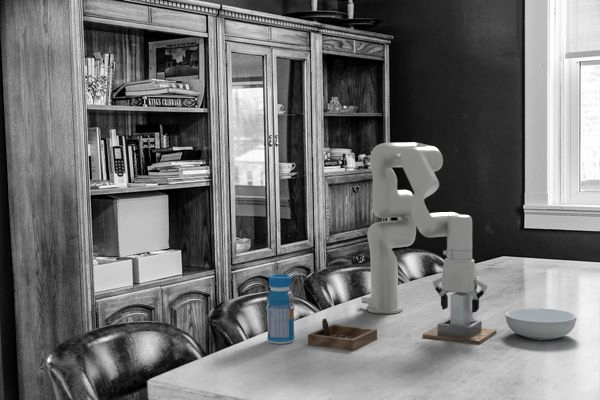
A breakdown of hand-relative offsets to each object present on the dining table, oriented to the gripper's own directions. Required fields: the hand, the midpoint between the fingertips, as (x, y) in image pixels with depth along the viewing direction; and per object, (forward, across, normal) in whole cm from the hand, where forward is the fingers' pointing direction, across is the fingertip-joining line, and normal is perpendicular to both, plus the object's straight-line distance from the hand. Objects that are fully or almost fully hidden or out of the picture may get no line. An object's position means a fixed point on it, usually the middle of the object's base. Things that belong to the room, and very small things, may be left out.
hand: (459, 310), depth 253 cm
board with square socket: (+8, 0, 0) cm, 8 cm away
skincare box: (+7, 0, 0) cm, 7 cm away
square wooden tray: (+8, -28, -24) cm, 38 cm away
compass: (+8, -31, -24) cm, 40 cm away
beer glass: (+8, -5, +22) cm, 24 cm away
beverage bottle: (+8, -45, -32) cm, 56 cm away
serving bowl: (+8, +22, +10) cm, 25 cm away
